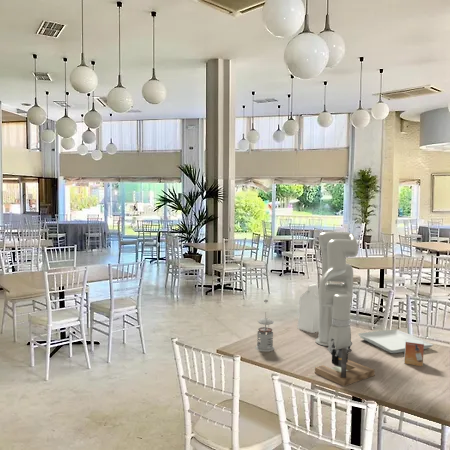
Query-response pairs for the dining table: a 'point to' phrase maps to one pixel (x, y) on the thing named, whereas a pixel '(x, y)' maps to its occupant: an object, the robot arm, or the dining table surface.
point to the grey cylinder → (339, 358)
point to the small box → (414, 352)
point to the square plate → (391, 340)
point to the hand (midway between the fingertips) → (339, 362)
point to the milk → (309, 310)
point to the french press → (265, 340)
